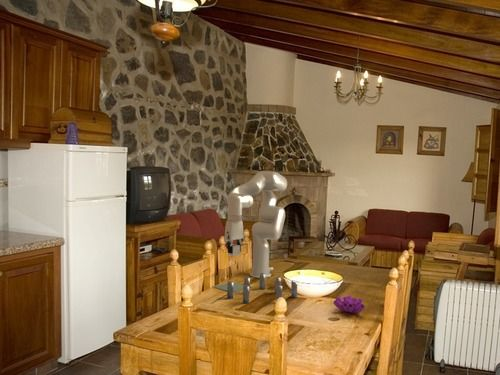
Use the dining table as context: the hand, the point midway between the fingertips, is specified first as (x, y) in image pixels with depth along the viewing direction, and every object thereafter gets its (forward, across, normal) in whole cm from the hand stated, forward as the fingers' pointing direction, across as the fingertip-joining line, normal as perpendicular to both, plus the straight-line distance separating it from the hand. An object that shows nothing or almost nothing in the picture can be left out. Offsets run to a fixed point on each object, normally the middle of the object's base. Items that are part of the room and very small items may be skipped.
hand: (234, 252), depth 245 cm
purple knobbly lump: (+19, -10, +63) cm, 67 cm away
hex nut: (+1, 0, 0) cm, 1 cm away
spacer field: (+19, +2, +22) cm, 29 cm away
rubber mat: (+19, 0, -1) cm, 19 cm away
